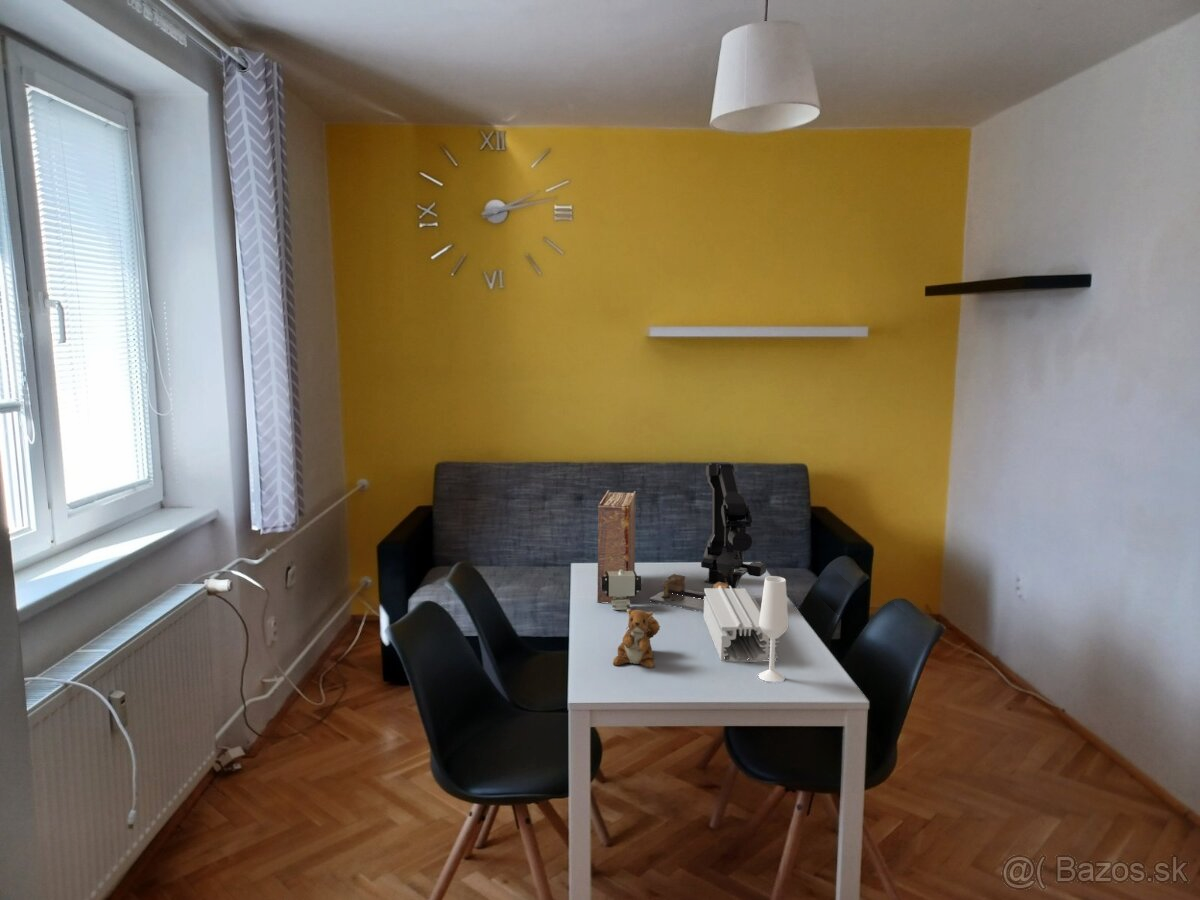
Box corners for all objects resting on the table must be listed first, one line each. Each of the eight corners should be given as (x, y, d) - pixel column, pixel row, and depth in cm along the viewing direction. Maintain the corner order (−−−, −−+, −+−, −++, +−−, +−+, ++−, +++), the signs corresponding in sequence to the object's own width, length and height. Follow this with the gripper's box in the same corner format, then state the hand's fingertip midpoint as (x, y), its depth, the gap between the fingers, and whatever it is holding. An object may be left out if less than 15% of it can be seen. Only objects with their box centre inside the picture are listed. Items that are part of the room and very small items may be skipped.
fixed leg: (673, 586, 251) (673, 573, 250) (684, 588, 249) (685, 575, 248) (658, 595, 242) (658, 582, 241) (670, 597, 240) (670, 584, 239)
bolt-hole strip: (661, 594, 247) (661, 591, 247) (733, 608, 235) (733, 604, 235) (649, 601, 240) (649, 598, 240) (723, 616, 228) (723, 612, 228)
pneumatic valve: (641, 611, 232) (641, 571, 230) (601, 612, 231) (601, 572, 229) (638, 604, 237) (639, 566, 236) (599, 605, 236) (600, 566, 235)
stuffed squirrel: (611, 667, 193) (611, 615, 191) (625, 645, 206) (625, 596, 204) (651, 671, 190) (652, 619, 188) (662, 650, 203) (663, 600, 202)
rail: (669, 590, 251) (669, 583, 251) (754, 606, 237) (754, 598, 237) (665, 593, 249) (665, 585, 248) (750, 609, 234) (750, 601, 234)
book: (607, 578, 264) (608, 489, 260) (634, 579, 263) (636, 490, 258) (597, 603, 239) (598, 505, 235) (627, 604, 238) (629, 506, 234)
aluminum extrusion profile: (753, 619, 227) (754, 585, 226) (778, 662, 197) (779, 624, 195) (703, 619, 227) (704, 585, 225) (720, 662, 196) (721, 623, 195)
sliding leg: (718, 594, 243) (718, 581, 243) (730, 596, 241) (730, 583, 241) (704, 604, 234) (704, 591, 234) (716, 606, 232) (717, 593, 232)
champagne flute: (753, 671, 190) (757, 575, 187) (781, 671, 191) (785, 574, 187) (761, 683, 184) (765, 583, 180) (789, 683, 184) (794, 583, 181)
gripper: (694, 544, 234) (693, 595, 236) (754, 553, 225) (752, 606, 227) (709, 536, 244) (707, 585, 246) (767, 544, 234) (765, 595, 236)
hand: (732, 592), depth 239 cm, fingers closed
